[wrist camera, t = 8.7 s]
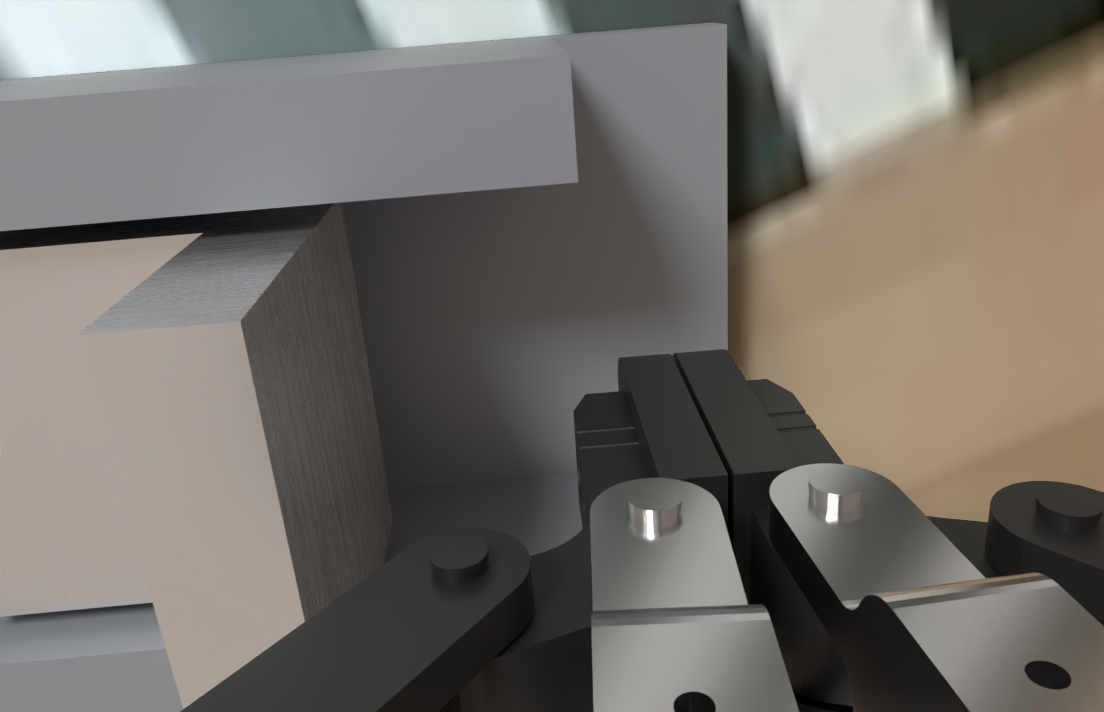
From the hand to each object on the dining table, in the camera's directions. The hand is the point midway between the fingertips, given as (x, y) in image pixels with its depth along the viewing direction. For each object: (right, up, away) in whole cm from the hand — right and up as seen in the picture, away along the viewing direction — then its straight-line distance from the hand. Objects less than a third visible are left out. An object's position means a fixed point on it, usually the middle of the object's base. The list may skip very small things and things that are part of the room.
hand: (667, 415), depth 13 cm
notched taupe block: (-8, +1, +4) cm, 9 cm away
